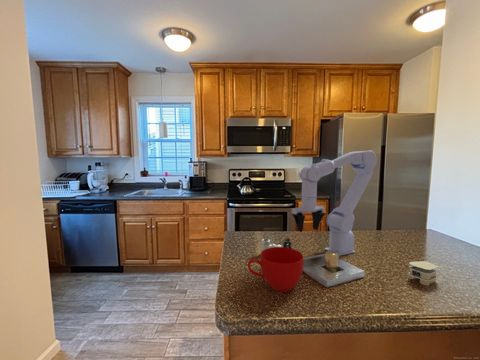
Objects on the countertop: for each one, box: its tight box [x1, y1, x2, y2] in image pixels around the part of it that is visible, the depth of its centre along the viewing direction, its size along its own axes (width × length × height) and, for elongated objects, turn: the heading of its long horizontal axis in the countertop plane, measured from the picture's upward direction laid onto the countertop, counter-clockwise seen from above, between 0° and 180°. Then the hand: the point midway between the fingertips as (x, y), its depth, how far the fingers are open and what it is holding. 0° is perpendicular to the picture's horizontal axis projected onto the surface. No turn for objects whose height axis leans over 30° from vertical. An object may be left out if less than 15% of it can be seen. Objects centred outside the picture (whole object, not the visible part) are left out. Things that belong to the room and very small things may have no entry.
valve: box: [260, 238, 293, 252], centre depth 98 cm, size 7×7×12 cm
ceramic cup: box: [247, 247, 304, 293], centre depth 73 cm, size 13×17×10 cm
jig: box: [302, 251, 366, 288], centre depth 81 cm, size 16×12×4 cm
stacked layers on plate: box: [408, 260, 439, 286], centre depth 76 cm, size 10×9×6 cm
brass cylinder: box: [324, 250, 338, 273], centre depth 82 cm, size 4×4×7 cm
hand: (307, 230), depth 96 cm, fingers open, 7 cm apart
